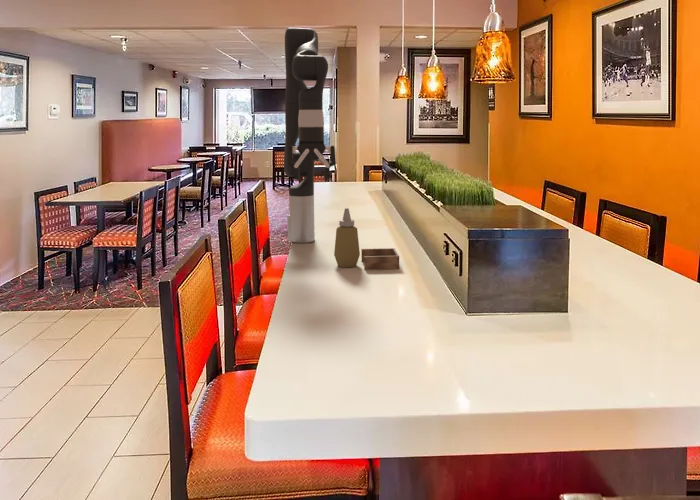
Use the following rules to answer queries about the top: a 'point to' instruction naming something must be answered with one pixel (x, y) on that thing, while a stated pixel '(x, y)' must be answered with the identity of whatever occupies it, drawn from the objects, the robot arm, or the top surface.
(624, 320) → the top surface
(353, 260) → the squeeze bottle
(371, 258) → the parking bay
